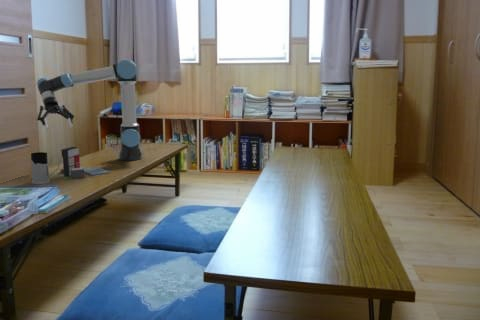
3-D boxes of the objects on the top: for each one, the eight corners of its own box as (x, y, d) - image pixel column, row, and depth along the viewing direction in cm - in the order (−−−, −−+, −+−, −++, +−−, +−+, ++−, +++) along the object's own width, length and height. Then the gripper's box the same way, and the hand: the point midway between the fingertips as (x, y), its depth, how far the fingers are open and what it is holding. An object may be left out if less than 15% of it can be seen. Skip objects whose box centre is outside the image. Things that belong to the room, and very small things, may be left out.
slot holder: (71, 171, 255) (70, 162, 254) (84, 177, 240) (84, 168, 239) (59, 172, 251) (59, 163, 250) (73, 178, 236) (72, 169, 235)
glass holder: (32, 180, 229) (30, 152, 227) (61, 179, 234) (60, 151, 232) (30, 184, 221) (28, 155, 219) (61, 182, 226) (59, 154, 224)
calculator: (69, 177, 239) (68, 149, 237) (62, 176, 240) (61, 149, 238) (81, 173, 250) (79, 146, 247) (74, 172, 251) (72, 146, 248)
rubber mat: (98, 168, 263) (98, 167, 263) (110, 172, 252) (110, 171, 251) (80, 170, 256) (80, 169, 256) (91, 175, 244) (91, 174, 244)
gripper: (69, 104, 270) (79, 131, 262) (25, 105, 254) (35, 133, 246) (72, 96, 265) (83, 123, 257) (28, 96, 249) (37, 125, 241)
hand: (59, 128), depth 251 cm, fingers open, 13 cm apart
